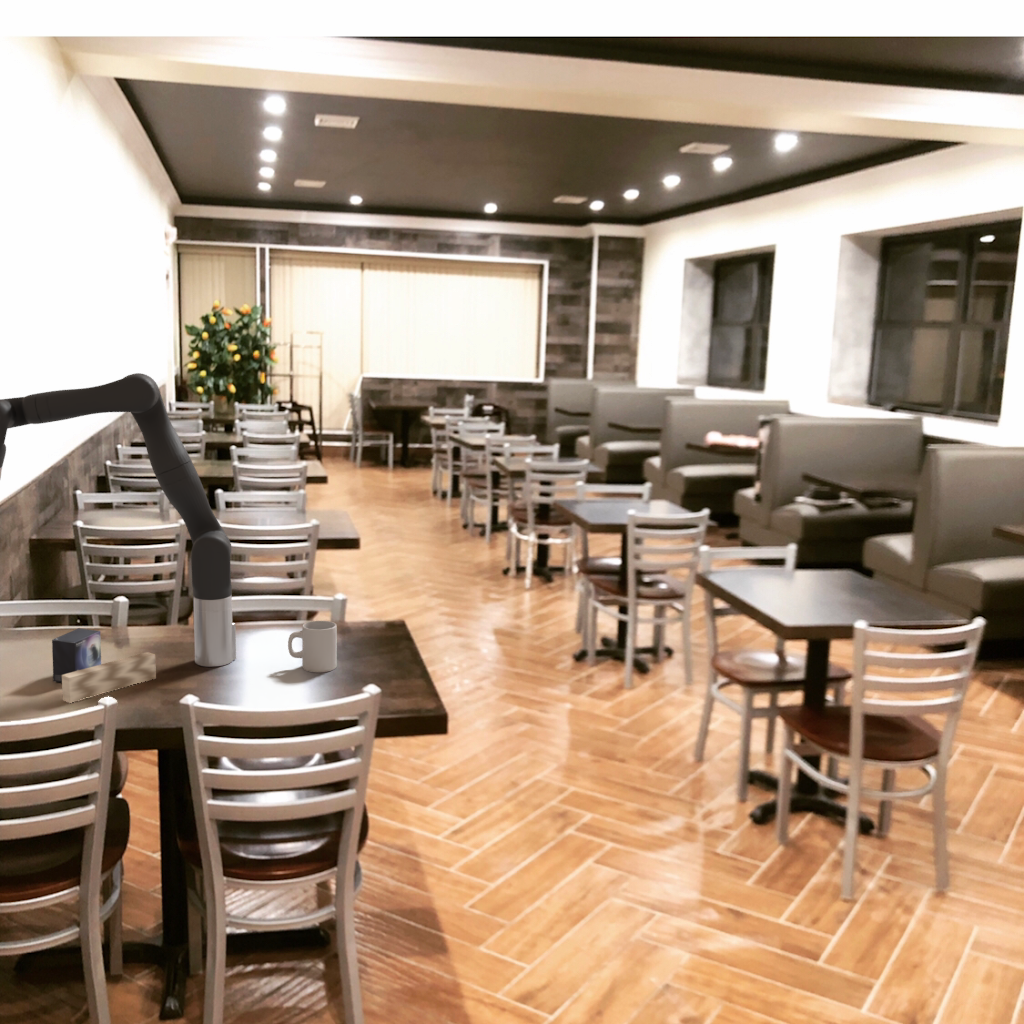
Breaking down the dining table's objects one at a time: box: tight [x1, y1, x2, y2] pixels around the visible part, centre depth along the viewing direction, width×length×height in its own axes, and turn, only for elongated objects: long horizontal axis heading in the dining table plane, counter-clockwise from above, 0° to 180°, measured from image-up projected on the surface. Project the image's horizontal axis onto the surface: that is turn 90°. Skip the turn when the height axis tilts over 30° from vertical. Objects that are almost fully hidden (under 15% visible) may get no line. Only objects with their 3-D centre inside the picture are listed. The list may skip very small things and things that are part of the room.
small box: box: [51, 627, 102, 684], centre depth 241 cm, size 11×6×10 cm, turn 168°
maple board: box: [61, 651, 157, 704], centre depth 233 cm, size 22×3×6 cm, turn 144°
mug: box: [287, 620, 338, 673], centre depth 252 cm, size 12×8×11 cm
